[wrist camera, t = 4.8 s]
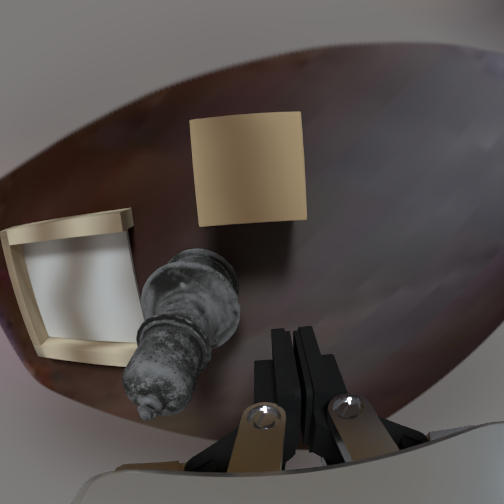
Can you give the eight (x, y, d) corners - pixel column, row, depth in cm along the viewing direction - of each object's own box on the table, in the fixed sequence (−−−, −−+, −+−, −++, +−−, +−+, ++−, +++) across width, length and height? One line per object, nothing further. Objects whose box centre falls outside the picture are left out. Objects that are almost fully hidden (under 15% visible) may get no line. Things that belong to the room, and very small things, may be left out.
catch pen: (131, 207, 19) (119, 212, 17) (160, 354, 22) (154, 368, 20) (13, 226, 19) (-1, 231, 17) (47, 345, 22) (38, 356, 21)
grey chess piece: (221, 336, 21) (194, 478, 10) (147, 301, 21) (66, 421, 9) (258, 268, 20) (260, 402, 8) (176, 228, 19) (79, 319, 8)
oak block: (289, 124, 17) (300, 111, 12) (293, 204, 19) (306, 219, 14) (207, 130, 17) (189, 120, 13) (213, 209, 19) (199, 226, 14)
